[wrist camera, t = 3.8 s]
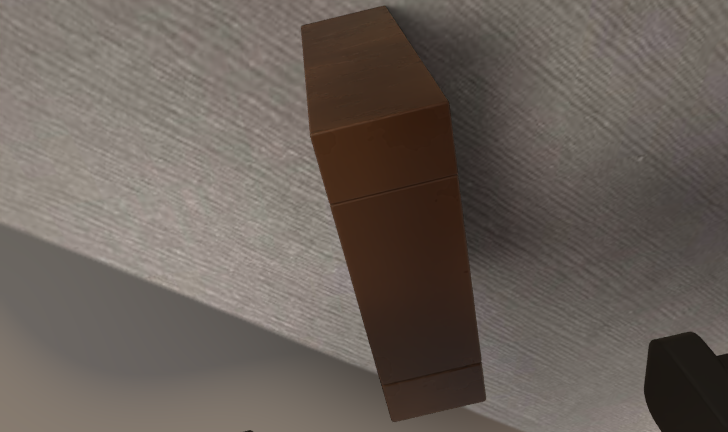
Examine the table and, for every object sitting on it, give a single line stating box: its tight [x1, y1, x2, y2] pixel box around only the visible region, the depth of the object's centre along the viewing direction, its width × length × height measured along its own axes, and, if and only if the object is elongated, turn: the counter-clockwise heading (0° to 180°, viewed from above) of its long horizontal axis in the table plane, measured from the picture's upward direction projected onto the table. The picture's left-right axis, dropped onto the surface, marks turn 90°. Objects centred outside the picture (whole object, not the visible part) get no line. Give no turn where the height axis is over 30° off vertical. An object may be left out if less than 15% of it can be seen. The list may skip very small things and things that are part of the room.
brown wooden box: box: [301, 6, 486, 422], centre depth 18 cm, size 3×10×9 cm, turn 12°
